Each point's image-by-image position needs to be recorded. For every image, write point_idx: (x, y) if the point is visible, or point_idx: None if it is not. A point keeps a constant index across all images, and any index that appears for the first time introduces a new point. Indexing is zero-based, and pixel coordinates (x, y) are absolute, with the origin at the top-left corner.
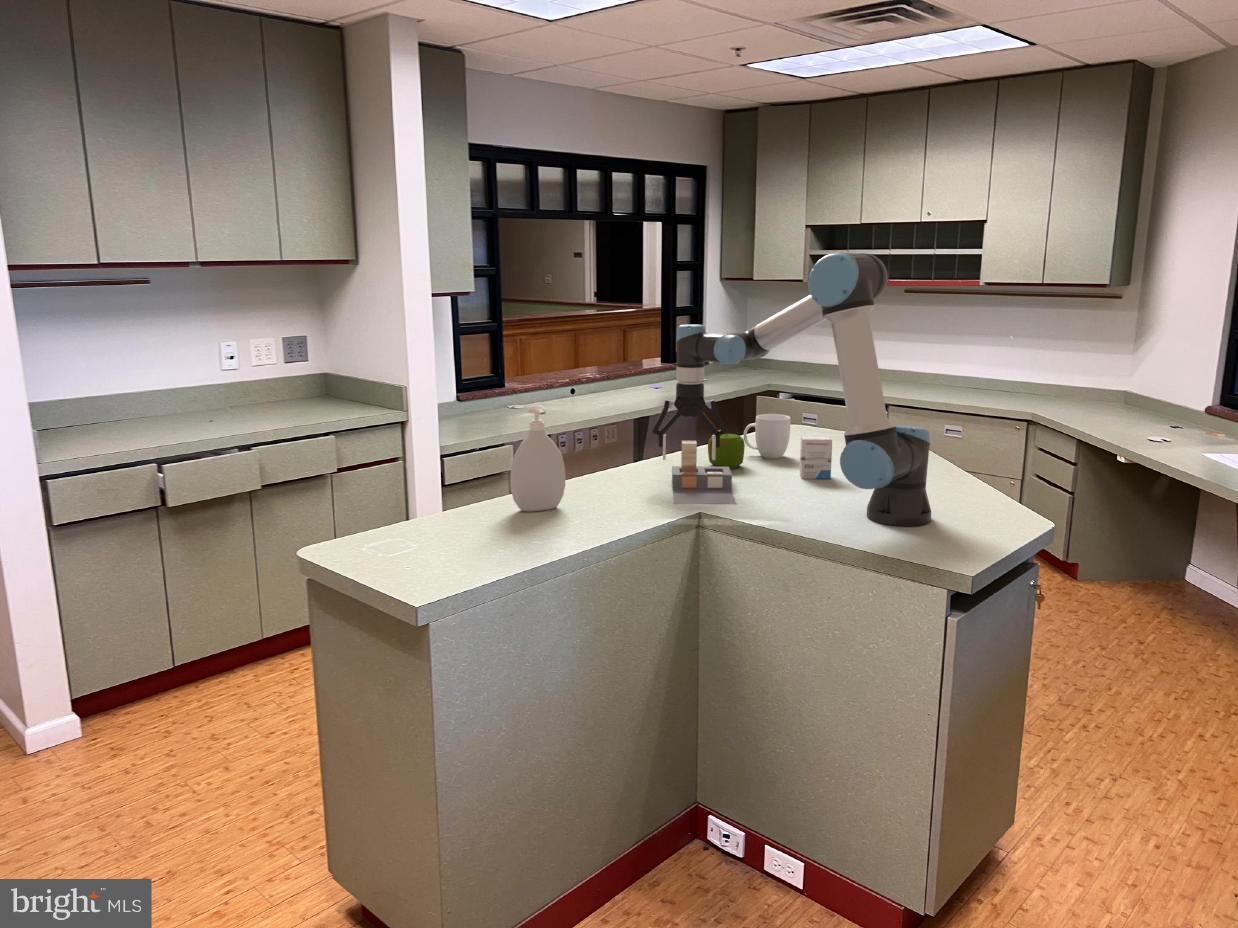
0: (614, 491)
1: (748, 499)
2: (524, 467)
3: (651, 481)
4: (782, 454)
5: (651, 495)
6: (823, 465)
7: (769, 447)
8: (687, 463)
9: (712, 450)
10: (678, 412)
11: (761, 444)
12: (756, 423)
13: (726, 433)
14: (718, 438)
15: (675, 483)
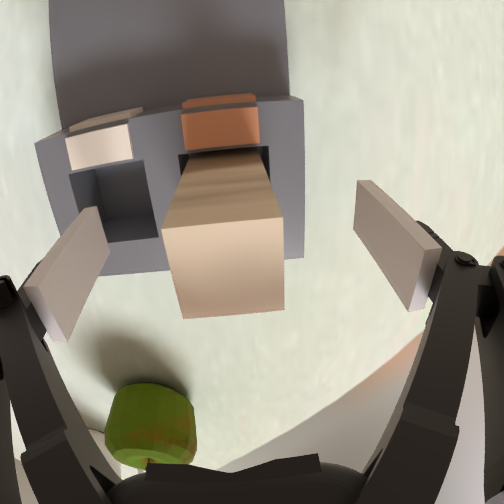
0: (464, 121)
1: (19, 72)
2: None
3: (354, 247)
4: None
5: (362, 61)
6: None
7: None
8: (232, 171)
9: (86, 252)
10: (430, 479)
11: (103, 454)
12: None
13: (146, 467)
14: (22, 293)
15: (281, 97)
